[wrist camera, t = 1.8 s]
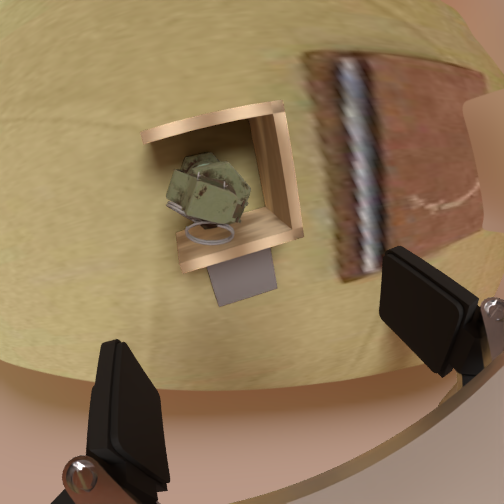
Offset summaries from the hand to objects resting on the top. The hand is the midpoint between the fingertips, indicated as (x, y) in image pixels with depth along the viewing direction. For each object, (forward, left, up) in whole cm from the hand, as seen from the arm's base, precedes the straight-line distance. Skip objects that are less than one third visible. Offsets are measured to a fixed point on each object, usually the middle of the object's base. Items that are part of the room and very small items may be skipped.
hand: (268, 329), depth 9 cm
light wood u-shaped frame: (-2, 0, -28) cm, 28 cm away
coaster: (-3, +14, -28) cm, 32 cm away
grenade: (0, 0, -28) cm, 28 cm away
